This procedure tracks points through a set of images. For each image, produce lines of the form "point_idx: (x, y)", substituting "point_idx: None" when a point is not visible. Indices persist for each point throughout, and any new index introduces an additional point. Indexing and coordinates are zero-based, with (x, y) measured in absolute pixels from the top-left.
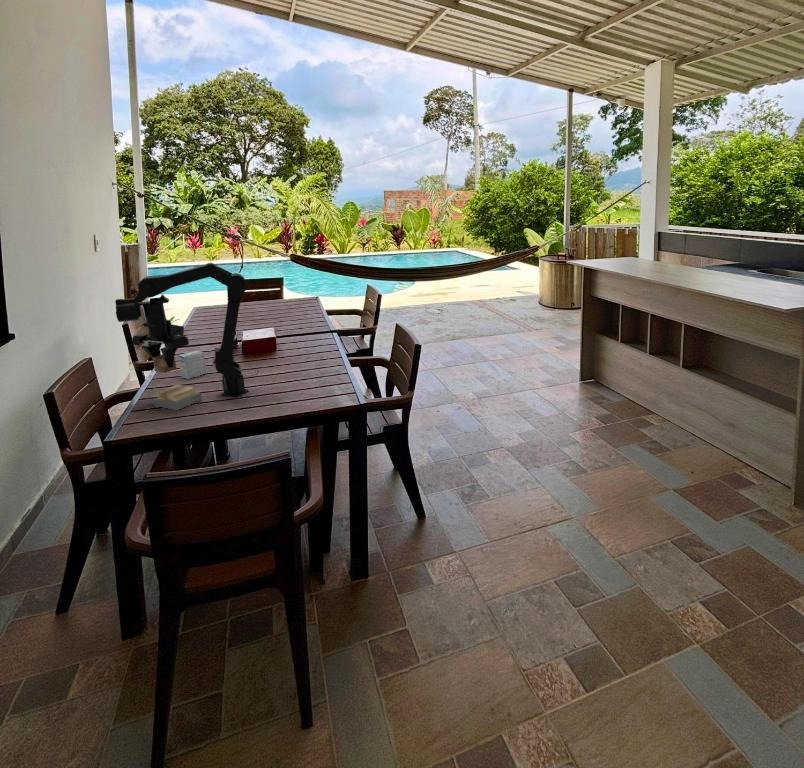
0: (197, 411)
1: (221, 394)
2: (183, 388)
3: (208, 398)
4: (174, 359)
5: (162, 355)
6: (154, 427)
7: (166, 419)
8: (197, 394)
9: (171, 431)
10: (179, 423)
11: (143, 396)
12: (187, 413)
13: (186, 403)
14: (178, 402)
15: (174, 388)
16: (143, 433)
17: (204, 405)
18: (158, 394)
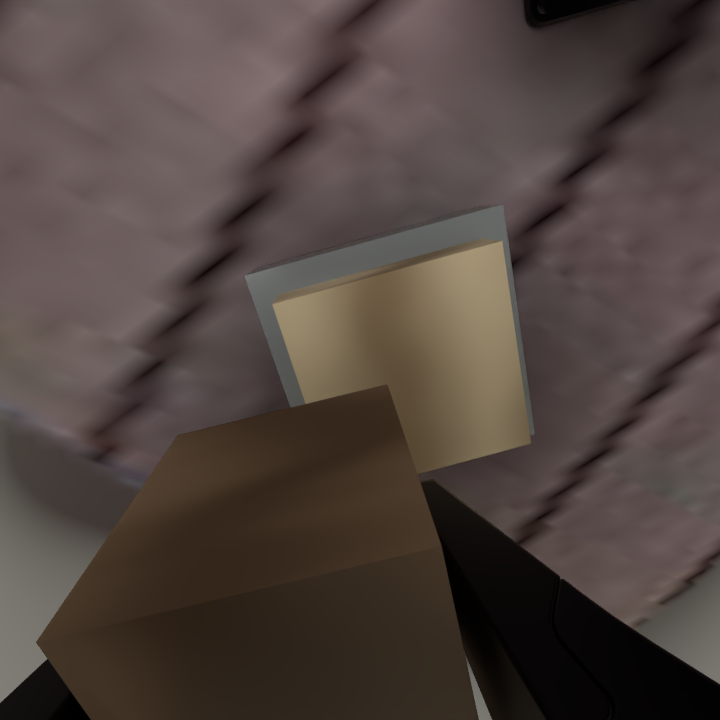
0: (631, 344)
1: (537, 24)
2: (432, 319)
3: (494, 149)
4: (416, 476)
5: (189, 710)
6: (601, 572)
7: (567, 501)
8: (507, 240)
9: (715, 547)
10: (675, 486)
11: (43, 421)
12: (600, 396)
13: None
14: (532, 417)
15: (361, 367)
16: None
17: (588, 257)
18: None
